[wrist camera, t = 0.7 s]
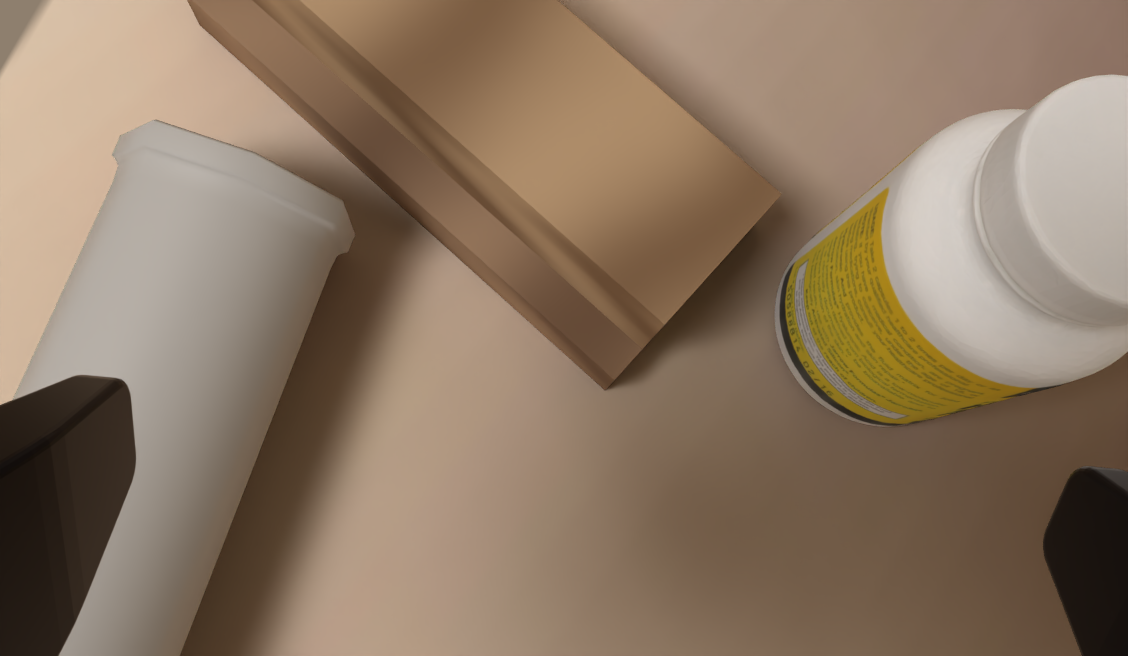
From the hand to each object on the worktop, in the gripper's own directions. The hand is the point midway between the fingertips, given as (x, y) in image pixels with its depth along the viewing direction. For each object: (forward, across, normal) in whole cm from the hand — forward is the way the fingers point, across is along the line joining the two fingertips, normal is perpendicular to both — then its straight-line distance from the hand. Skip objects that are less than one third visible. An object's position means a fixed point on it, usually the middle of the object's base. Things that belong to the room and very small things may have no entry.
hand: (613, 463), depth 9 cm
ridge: (+17, +2, +1) cm, 17 cm away
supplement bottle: (+14, -9, +5) cm, 17 cm away
